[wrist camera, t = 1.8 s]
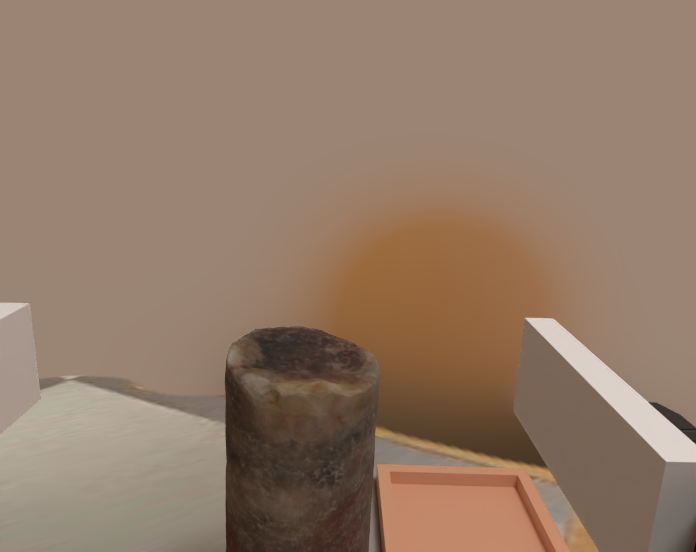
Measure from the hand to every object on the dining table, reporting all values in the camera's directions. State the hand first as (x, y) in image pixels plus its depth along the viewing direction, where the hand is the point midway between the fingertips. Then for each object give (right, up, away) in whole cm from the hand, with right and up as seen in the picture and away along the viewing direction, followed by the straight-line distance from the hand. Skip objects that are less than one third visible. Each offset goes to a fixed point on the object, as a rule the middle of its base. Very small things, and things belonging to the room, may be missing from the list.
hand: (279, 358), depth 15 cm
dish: (+11, -18, +27) cm, 34 cm away
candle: (-1, -21, +16) cm, 26 cm away
